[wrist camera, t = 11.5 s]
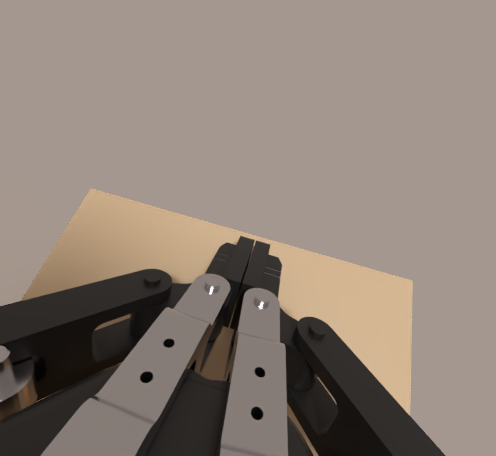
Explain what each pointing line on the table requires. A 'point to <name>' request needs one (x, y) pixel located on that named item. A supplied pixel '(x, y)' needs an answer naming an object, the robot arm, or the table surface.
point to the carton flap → (290, 297)
